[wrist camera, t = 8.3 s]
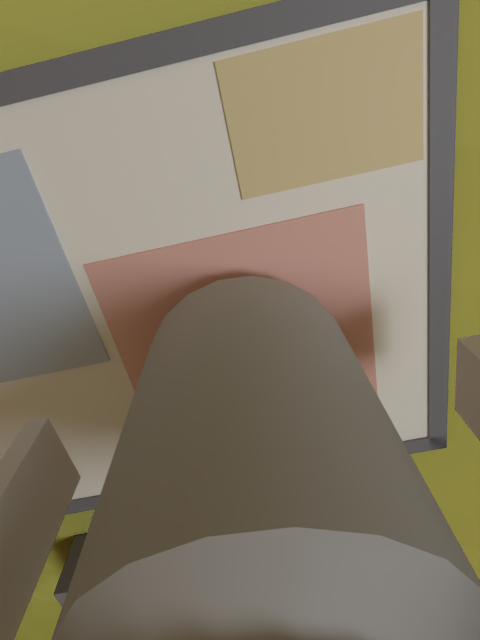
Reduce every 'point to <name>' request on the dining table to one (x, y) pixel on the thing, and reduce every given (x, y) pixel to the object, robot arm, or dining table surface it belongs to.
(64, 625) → the can
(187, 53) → the picture sheet
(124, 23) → the dining table surface
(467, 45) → the dining table surface
